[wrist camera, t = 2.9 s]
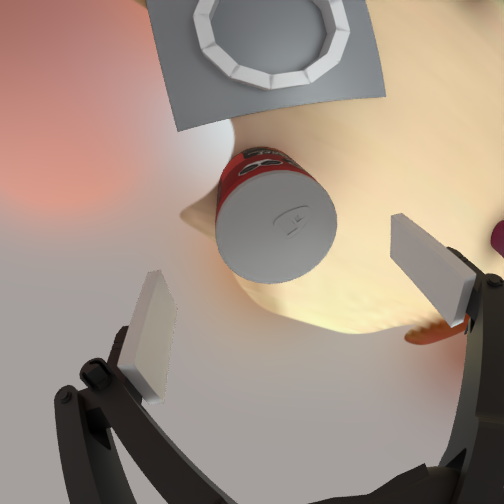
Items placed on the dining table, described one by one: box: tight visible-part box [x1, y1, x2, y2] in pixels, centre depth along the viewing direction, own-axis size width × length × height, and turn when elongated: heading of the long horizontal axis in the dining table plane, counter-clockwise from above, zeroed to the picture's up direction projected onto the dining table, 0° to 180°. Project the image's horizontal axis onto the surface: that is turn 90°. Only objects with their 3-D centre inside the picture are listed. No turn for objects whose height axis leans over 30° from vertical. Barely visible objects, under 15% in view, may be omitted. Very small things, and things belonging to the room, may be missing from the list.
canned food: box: [215, 147, 337, 284], centre depth 23 cm, size 8×8×11 cm
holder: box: [146, 0, 386, 132], centre depth 19 cm, size 16×20×4 cm
